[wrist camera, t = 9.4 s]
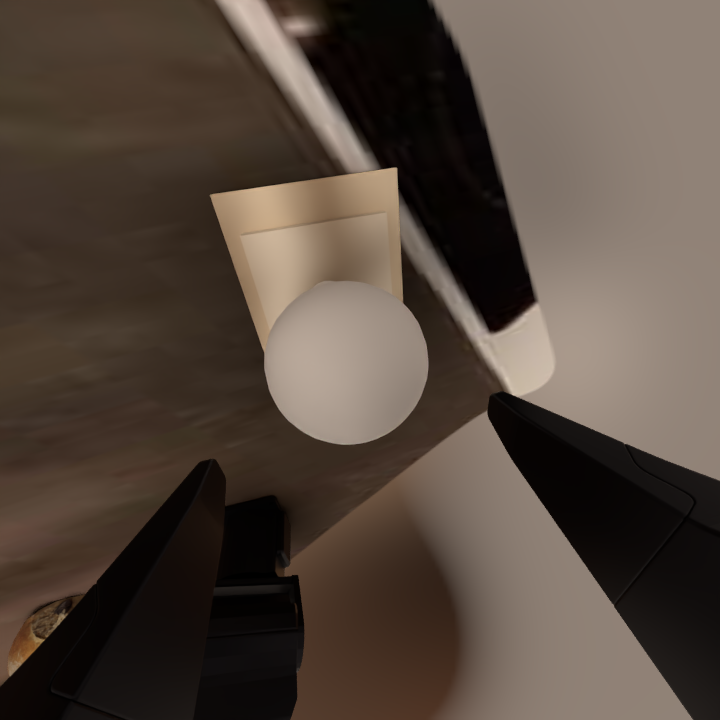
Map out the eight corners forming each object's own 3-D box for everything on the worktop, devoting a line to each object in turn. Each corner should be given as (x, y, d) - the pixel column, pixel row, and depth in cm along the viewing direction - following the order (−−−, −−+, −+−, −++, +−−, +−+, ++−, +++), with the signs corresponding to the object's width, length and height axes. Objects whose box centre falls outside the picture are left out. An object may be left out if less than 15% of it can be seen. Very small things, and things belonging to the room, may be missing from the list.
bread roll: (44, 584, 36) (-19, 681, 30) (51, 589, 30) (-26, 712, 24) (133, 596, 40) (92, 682, 35) (155, 602, 34) (109, 708, 29)
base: (274, 373, 23) (273, 389, 21) (214, 193, 16) (205, 195, 15) (401, 347, 24) (409, 360, 22) (391, 167, 17) (402, 166, 16)
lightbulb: (253, 282, 17) (204, 399, 8) (344, 222, 16) (410, 270, 7) (314, 358, 20) (331, 506, 11) (392, 310, 20) (482, 424, 10)
